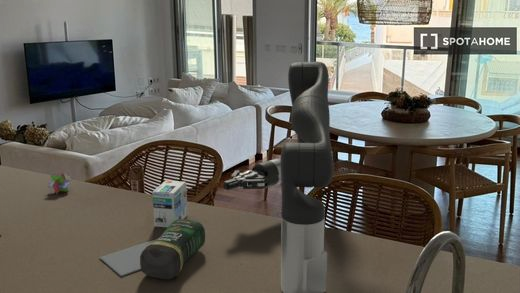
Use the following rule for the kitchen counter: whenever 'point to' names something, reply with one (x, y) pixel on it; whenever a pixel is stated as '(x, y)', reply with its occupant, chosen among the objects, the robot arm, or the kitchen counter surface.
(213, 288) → the kitchen counter surface
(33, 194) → the kitchen counter surface
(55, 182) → the geometric puzzle
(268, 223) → the kitchen counter surface
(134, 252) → the grey flat rectangular panel
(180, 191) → the light bulb box
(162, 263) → the coffee jar
